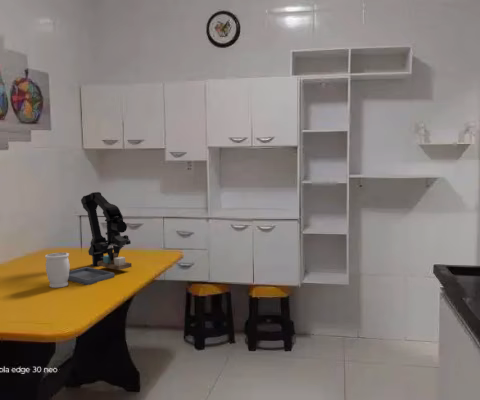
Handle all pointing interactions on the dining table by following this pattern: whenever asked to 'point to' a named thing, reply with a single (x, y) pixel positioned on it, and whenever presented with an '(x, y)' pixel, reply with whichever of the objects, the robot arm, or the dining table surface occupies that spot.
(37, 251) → the dining table surface
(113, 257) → the caddy
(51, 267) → the jar
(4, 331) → the dining table surface
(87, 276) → the tray
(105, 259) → the teal block
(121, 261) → the cream block
